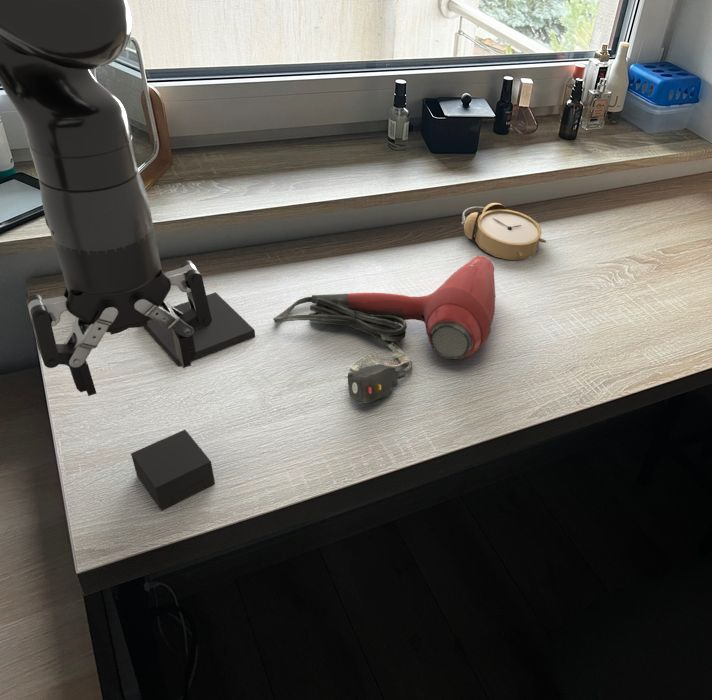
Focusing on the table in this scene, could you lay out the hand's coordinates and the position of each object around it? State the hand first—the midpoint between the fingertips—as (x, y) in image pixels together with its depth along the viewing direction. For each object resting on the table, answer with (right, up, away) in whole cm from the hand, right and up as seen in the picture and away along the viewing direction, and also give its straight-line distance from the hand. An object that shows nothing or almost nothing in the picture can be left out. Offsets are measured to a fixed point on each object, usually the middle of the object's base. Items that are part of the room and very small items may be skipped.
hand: (139, 375), depth 68 cm
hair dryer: (+23, +5, +36) cm, 43 cm away
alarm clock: (+37, +22, +58) cm, 72 cm away
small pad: (-1, -12, +10) cm, 16 cm away
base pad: (-6, +5, +31) cm, 32 cm away
